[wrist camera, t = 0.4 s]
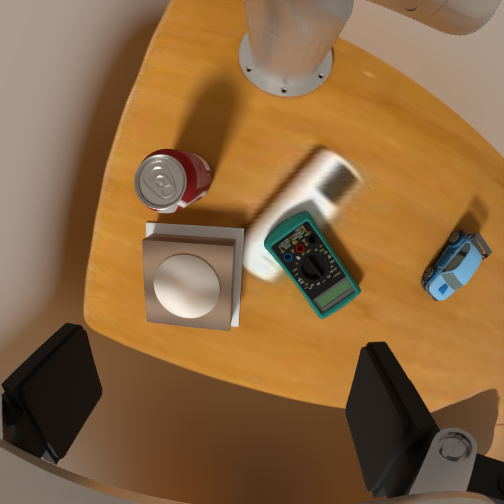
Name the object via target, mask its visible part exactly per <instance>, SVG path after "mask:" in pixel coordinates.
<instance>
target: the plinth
mask: <svg viewBox="0 0 504 504" xmlns="http://www.w3.org/2000/svg"><path fill="white" fill-rule="evenodd" d="M142 245H143V271H144V288H145V302H146V314H147V322H154V323H162V324H169V325H178V326H186V327H195V328H204V329H214V330H225V331H230V327H231V321H232V312H233V291H234V271H235V251H236V239H229V238H214V237H199V236H184V235H169V234H151V235H149V236H148V237H146V238H145V239H143V240H142Z"/></svg>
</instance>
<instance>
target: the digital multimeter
mask: <svg viewBox="0 0 504 504" xmlns="http://www.w3.org/2000/svg"><path fill="white" fill-rule="evenodd" d="M320 238H321V239H320ZM264 246H265V248H266V249H267V250H268V251H269V253H270V254H271V255H272V256H273V257H274V258H275V260H276V261H277V262H278V263H279V264H280V266H281V267H282V268H283V269H284V271H285V272H286V273H287V274H288V275H289V277H290V278H291V279H292V280H293V282H294V283H295V284H296V286H297V287H298V289H299V290H300V291H301V293H302V294H303V295H304V297H305V298H306V299H307V301H308V302H309V304H310V305H311V307H312V308H313V310H314V311H315V313H316V314H317V316H318V317H319V318H320V319H324V318H326V317H327V316H329V315H331V314H333V313H334V312H336V311H338V310H339V309H341V308H342V307H344V306H345V305H346V304H348V303H349V302H350V301H352V300H353V299H354V298H355V297H356V296H358V295H359V294H360V293H361V289H360V287H359V286H358V285H357V283H356V282H355V281H354V279H353V278H352V276H351V275H350V274H349V272H348V271H347V270H346V268H345V267H344V265H343V264H342V262H341V261H340V259H339V258H338V257H337V255H336V254H335V252H334V251H333V249H332V248H331V246H330V245H329V243H328V242H327V240H326V239H325V237H324V236H323V234H322V233H321V231H320V229H319V228H318V226H317V225H316V223H315V222H314V220H313V218H312V217H311V215H310V214H309V213H308V212H307V211H304V212H301V213H299V214H297V215H294V216H292V217H290V218H288V219H286V220H285V221H283V222H282V223H281V224H279V225H278V226H277V227H276V228H275V229H274V230H273V231H272V232H271V233H270V235H269V236H268V237H267V238H266V239H265V241H264ZM321 255H322V256H321ZM325 274H326V275H325Z"/></svg>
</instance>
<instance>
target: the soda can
mask: <svg viewBox="0 0 504 504" xmlns="http://www.w3.org/2000/svg"><path fill="white" fill-rule="evenodd" d="M211 181H212V174H211V169H210V167H209V165H208V163H207V162H206V161H205V160H204V159H203V158H202V157H200V156H199V155H196V154H193V153H189V152H184V151H178V150H173V149H161V150H157V151H155V152H153V153H151V154H150V155H148V156H147V157H146V158H145V159H144V160H143V161H142V163H141V164H140V166H139V168H138V169H137V172H136V174H135V180H134V185H135V190H136V193H137V196H138V197H139V199H140V200H141V201H142V202H143V203H144V204H145V205H146V206H147V207H148V208H150V209H151V210H153V211H156V212H159V213H172V212H176V211H178V210H180V209H182V208H184V207H186V206H188V205H190V204H192V203H194V202H196V201H198V200H199V199H201V198H202V197H203V196H204V195H205V194H206V193H207V192H208V190H209V188H210V185H211Z"/></svg>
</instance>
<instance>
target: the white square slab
mask: <svg viewBox="0 0 504 504" xmlns="http://www.w3.org/2000/svg"><path fill="white" fill-rule="evenodd" d="M151 234H169V235H184V236H199V237H214V238H229V239H236V251H235V271H234V291H233V312H232V321H231V326H237V327H239V309H240V291H241V274H242V257H243V241H244V228H231V227H215V226H199V225H183V224H165V223H146V237H148V236H149V235H151Z"/></svg>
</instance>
